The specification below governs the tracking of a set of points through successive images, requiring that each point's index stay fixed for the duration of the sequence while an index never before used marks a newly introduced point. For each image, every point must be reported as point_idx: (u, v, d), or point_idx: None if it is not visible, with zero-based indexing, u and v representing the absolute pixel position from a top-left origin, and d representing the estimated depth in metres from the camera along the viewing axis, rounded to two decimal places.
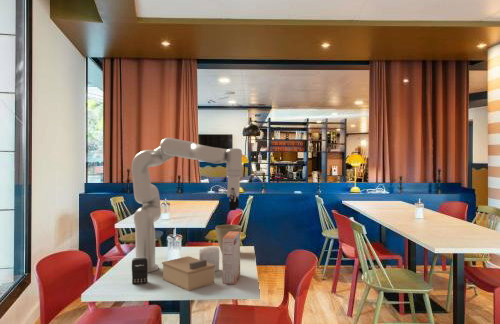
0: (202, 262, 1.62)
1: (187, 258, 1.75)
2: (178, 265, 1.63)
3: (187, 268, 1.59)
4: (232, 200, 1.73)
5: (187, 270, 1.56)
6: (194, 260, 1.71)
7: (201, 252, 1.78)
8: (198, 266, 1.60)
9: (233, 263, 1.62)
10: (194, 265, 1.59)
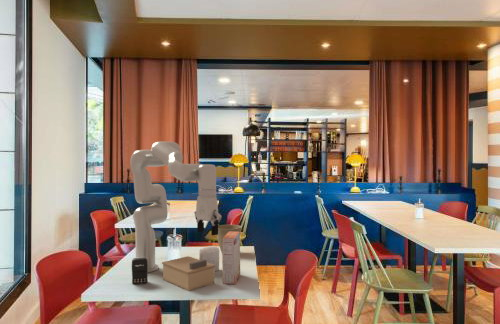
0: (202, 262, 1.62)
1: (187, 258, 1.75)
2: (178, 265, 1.63)
3: (187, 268, 1.59)
4: (217, 224, 1.52)
5: (187, 270, 1.56)
6: (194, 260, 1.71)
7: (201, 252, 1.78)
8: (198, 266, 1.60)
9: (233, 263, 1.62)
10: (194, 265, 1.59)
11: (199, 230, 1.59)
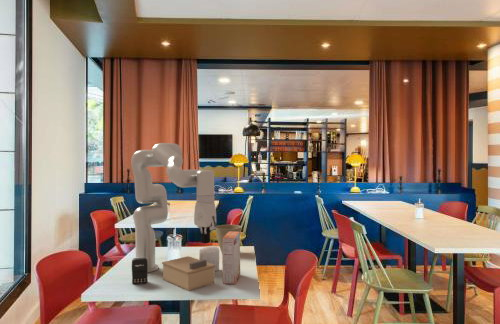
0: (202, 262, 1.62)
1: (187, 258, 1.75)
2: (178, 265, 1.63)
3: (187, 268, 1.59)
4: (209, 232, 1.54)
5: (187, 270, 1.56)
6: (194, 260, 1.71)
7: (201, 252, 1.78)
8: (198, 266, 1.60)
9: (233, 263, 1.62)
10: (194, 265, 1.59)
11: None
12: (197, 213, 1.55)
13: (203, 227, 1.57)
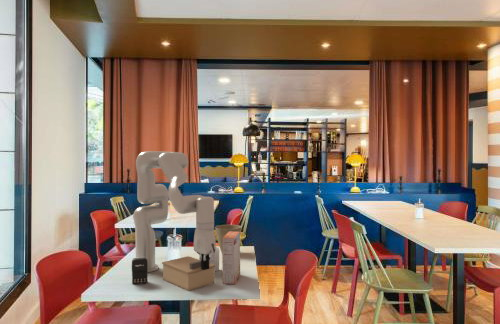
0: None
1: (187, 258, 1.75)
2: (178, 265, 1.63)
3: (187, 268, 1.59)
4: (208, 258, 1.54)
5: (187, 270, 1.56)
6: (194, 260, 1.71)
7: None
8: (198, 266, 1.60)
9: (233, 263, 1.62)
10: (194, 265, 1.59)
11: None
12: (196, 240, 1.55)
13: (202, 253, 1.58)
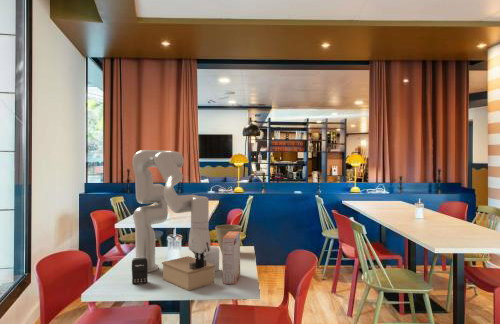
0: None
1: (187, 258, 1.75)
2: (178, 265, 1.63)
3: (187, 268, 1.59)
4: (203, 257, 1.57)
5: (187, 270, 1.56)
6: (194, 260, 1.72)
7: None
8: None
9: (233, 263, 1.62)
10: (194, 265, 1.59)
11: None
12: (191, 238, 1.58)
13: None
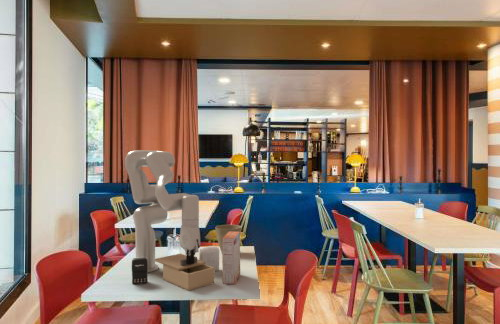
0: None
1: (179, 255, 1.80)
2: (170, 262, 1.68)
3: (178, 265, 1.64)
4: (193, 254, 1.62)
5: (178, 266, 1.61)
6: (185, 257, 1.76)
7: (201, 252, 1.78)
8: None
9: (233, 263, 1.62)
10: (185, 262, 1.64)
11: None
12: (182, 236, 1.63)
13: (188, 249, 1.65)
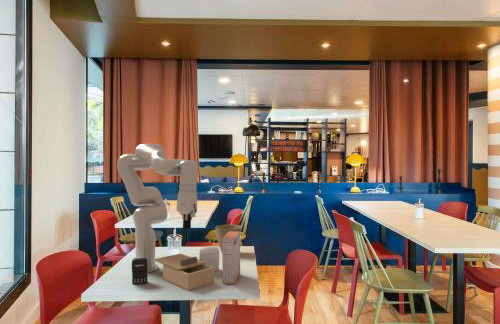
0: (193, 259, 1.67)
1: (179, 255, 1.80)
2: (170, 262, 1.68)
3: (178, 265, 1.64)
4: (190, 218, 1.63)
5: (178, 266, 1.61)
6: (185, 257, 1.76)
7: (201, 252, 1.78)
8: (189, 263, 1.65)
9: (233, 263, 1.62)
10: (185, 262, 1.64)
11: None
12: (179, 200, 1.64)
13: (185, 214, 1.67)
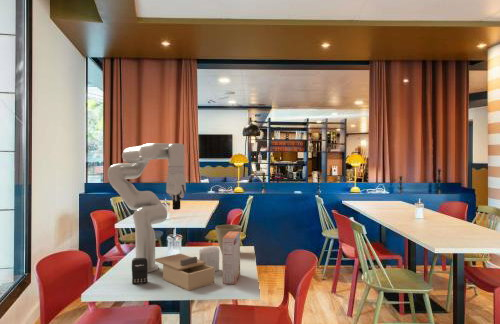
0: (193, 259, 1.67)
1: (179, 255, 1.80)
2: (170, 262, 1.68)
3: (178, 265, 1.64)
4: (179, 199, 1.70)
5: (178, 266, 1.61)
6: (185, 257, 1.76)
7: (201, 252, 1.78)
8: (189, 263, 1.65)
9: (233, 263, 1.62)
10: (185, 262, 1.64)
11: None
12: (168, 182, 1.71)
13: (174, 195, 1.73)
